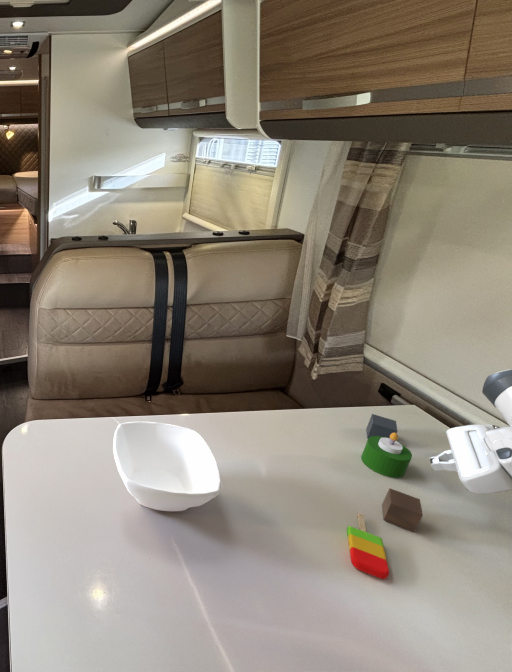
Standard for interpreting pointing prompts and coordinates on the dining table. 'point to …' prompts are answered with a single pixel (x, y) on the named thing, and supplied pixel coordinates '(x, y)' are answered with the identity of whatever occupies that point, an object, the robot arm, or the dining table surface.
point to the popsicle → (367, 551)
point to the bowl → (165, 465)
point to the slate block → (381, 426)
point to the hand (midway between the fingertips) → (431, 464)
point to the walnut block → (402, 510)
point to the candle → (386, 456)
